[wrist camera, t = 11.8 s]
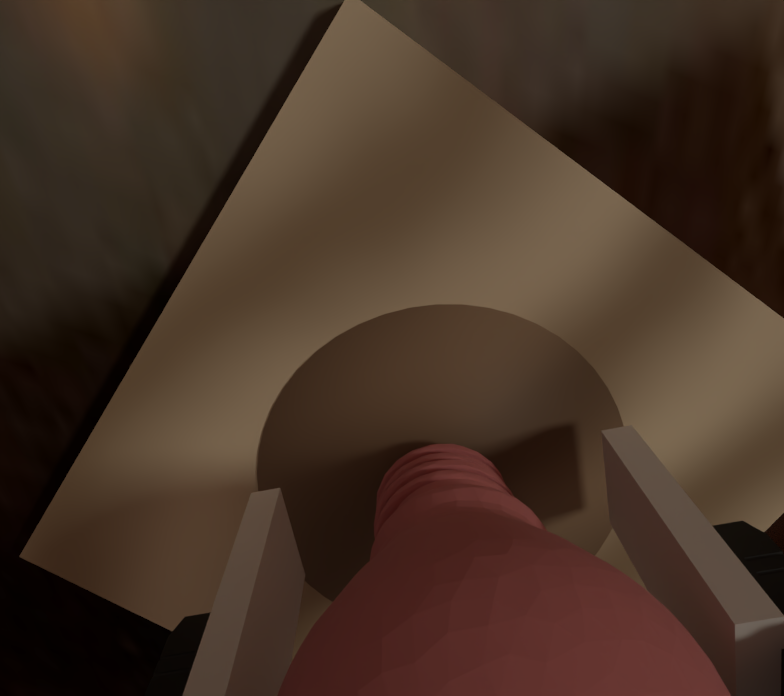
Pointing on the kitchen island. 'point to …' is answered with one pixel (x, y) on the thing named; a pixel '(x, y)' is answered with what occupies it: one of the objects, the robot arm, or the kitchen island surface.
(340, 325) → the seat board
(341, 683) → the dark red bulb shape
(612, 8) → the kitchen island surface
